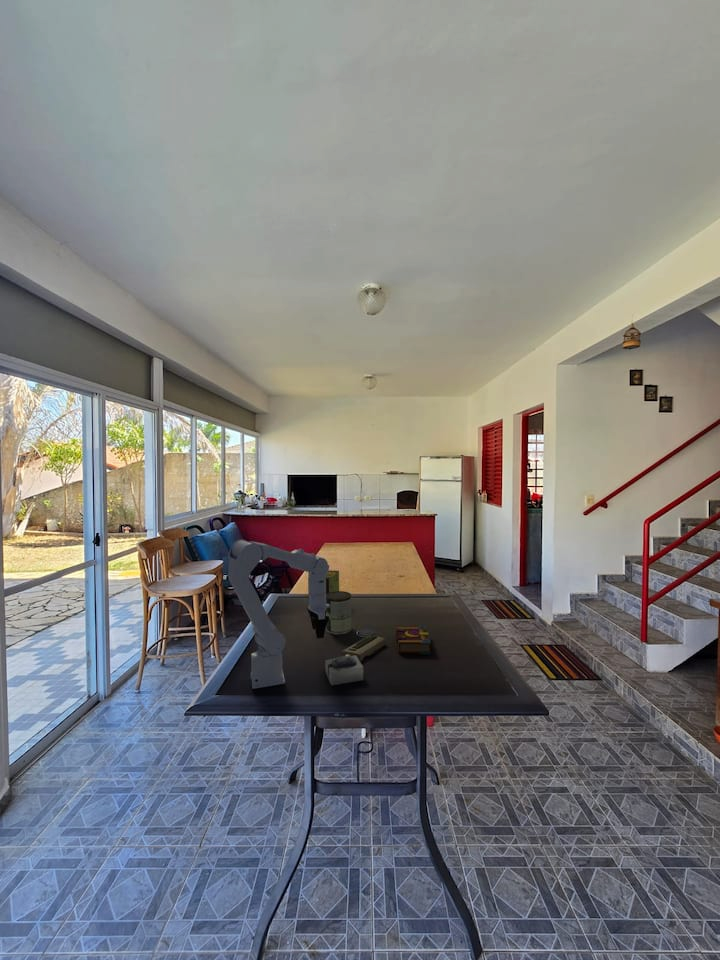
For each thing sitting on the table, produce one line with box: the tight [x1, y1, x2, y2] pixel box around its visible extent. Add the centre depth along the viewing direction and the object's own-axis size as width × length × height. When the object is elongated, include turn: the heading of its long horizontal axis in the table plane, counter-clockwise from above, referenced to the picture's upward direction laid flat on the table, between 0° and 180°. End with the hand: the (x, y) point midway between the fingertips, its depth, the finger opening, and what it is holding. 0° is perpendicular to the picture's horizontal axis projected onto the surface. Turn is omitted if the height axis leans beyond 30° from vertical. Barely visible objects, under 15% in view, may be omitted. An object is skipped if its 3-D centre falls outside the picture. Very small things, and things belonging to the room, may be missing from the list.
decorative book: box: [395, 625, 432, 656], centre depth 143 cm, size 11×16×5 cm
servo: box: [331, 654, 357, 668], centre depth 122 cm, size 8×3×6 cm, turn 107°
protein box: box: [307, 569, 340, 597], centre depth 186 cm, size 10×15×16 cm
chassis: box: [325, 655, 364, 686], centre depth 122 cm, size 10×8×4 cm
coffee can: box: [325, 590, 352, 635], centre depth 158 cm, size 10×10×14 cm
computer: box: [341, 635, 387, 663], centre depth 139 cm, size 16×8×3 cm, turn 143°
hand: (318, 633), depth 130 cm, fingers open, 7 cm apart
